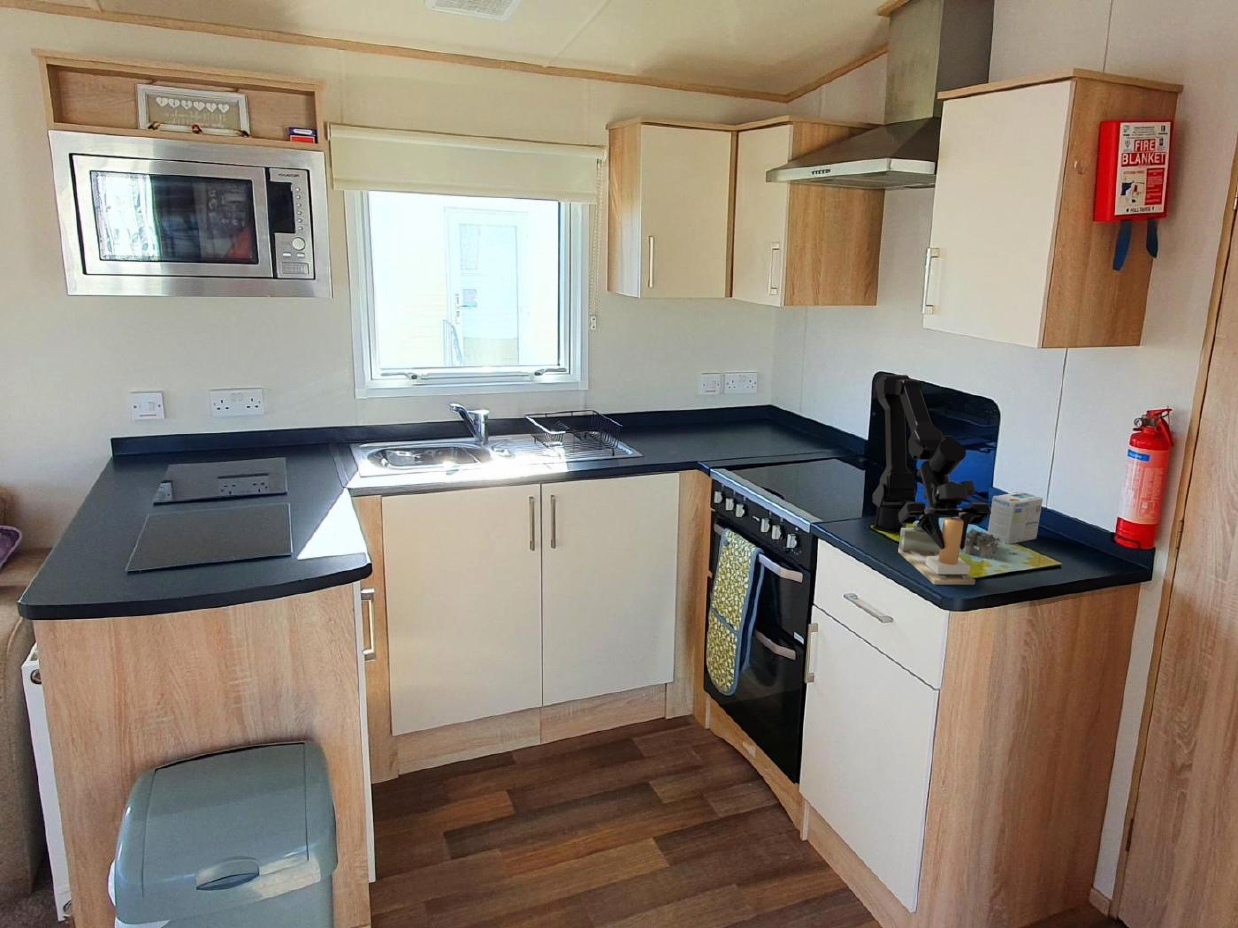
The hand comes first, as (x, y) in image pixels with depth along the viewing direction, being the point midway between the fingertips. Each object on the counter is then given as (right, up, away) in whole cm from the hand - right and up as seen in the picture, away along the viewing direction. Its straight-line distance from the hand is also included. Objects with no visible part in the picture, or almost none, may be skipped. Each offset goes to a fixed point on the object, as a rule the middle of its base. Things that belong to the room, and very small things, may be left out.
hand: (952, 548), depth 184 cm
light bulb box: (+27, -1, +31) cm, 41 cm away
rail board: (-1, -5, +9) cm, 10 cm away
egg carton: (+14, -3, +21) cm, 26 cm away
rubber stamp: (0, -5, +3) cm, 5 cm away
